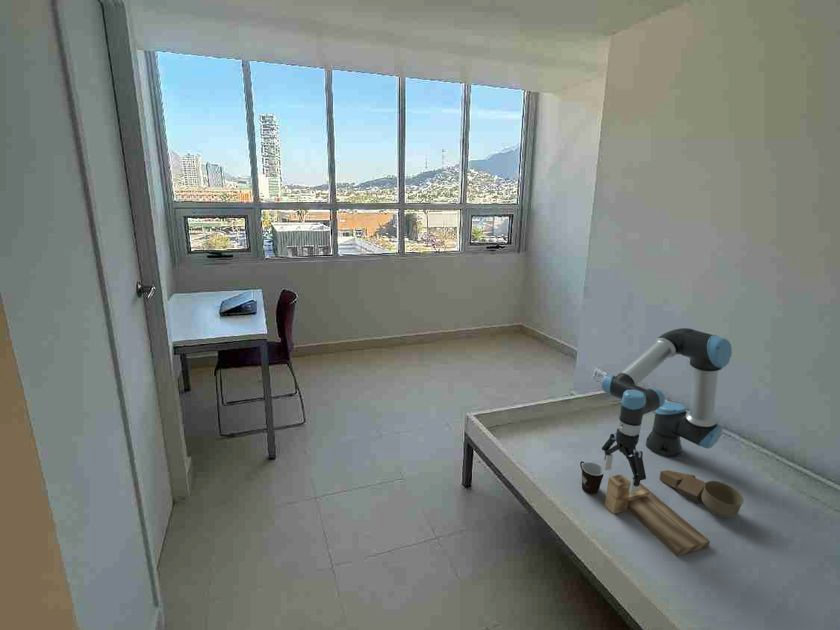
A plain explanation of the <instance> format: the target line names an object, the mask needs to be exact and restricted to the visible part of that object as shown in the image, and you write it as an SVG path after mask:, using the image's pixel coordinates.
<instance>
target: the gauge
mask: <svg viewBox="0 0 840 630" xmlns="http://www.w3.org/2000/svg"><path fill="white" fill-rule="evenodd" d="M630 485H631V480H629V479H628V478H627V477H626V476H625V475H623V474H622V473H621V474H616V475H612V476H609V477H608V482H607V488H606V494H605V501H604V506H605V508H607V509H608V510H609V511H610V512H611V513H612V514H620V513H623V512H626V511H628V510H627V505H628V501H629V500H633V499H637V498H641V497H645V496H649V492H648V491H647V490H646V489H644V490H640V491H637V492H633V493H630V492H629V490H630Z"/></svg>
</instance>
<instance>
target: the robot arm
mask: <svg viewBox="0 0 840 630" xmlns="http://www.w3.org/2000/svg"><path fill="white" fill-rule="evenodd" d="M732 349H733V348H732V344H731V342H730V341H729V339H727V338H724V337H722V336H720V335H716V334H710V333H707V332H705V331H704V332H703V331H700V330H696V329H692V328H688V327H687V328H686V327H683V328H680V327H679V328H675V329H672V330H669V331H667V332H664V333H663V334H661V335H660V336H658V337H657V338H656V339H654V341H653V344H652V345H651V346H649V348H647V350H646V351H644V352H643V353H642V354H641V355H639V356H638V357H637V358H636V359H634V360H633V362H631V363H630V364H628V366H627V367H625V368H624V369H623V370H621V371H620V372H619V373H618V374H617V375H616V376H615V375H612V374H607V375H606V376H604V377H603V379H602V381H601V390H602V391H603V392H605V394H608V395H610V396H612V397H615V398H617V399H620V401H621V402H620V403H621V404H620V409H619V416H618V423H617V428H616V432H615V433H610V436H609V438H608V440H606V442H605V443H604V445H602V447H601V450H602V451H604V466H603V469H604V471H610V470H612V464H613V458H614V453H615V452H617V451H619V452H620V453H622V454H623V455H624V456H625V458H626V460H627V461H628V464H629V466H630V469H631V472H632V474H633V476H631V479H630V482H631V485H630V490H629V492H630V493H633V492H637V487H638V486H639V485H640V483H641V481H643V480H644V481H645V480H646V479H647V476H646V470H645V466H644V465H645V464H644V460H643V456H644V454H643V451H642V450H640V451H639V450H638V449H637V445H638V443H639V439H640V433H641V428H642V421H643V417H644V415H646V414H649V413H651V412H654V411H655V413H654V418H653V419H654V420H653V425H652V429H651V431H650V432H649V434H648V436H647V437H646V440H645V445H646V447H647V448H648V449H649V450H650V451H651V452H652V453H655V454H657V455H660V456H662V457H666V458H676V457H679V456H681V455H682V451H683V447H682V442H681V441H682V440H681V438H682V439H684V440H686V441H689V442H691V443H692V444H695V445H696V446H698V447H702V448H704V449H711V448H712V447H714V445H716V444H717V442H718V441H719V439H720V437H721V435H722V433H723V427H722V425H720V424H718V418H717V417H716V415H715V402H716V396H717V395H716V394H717V387H718V386H717V384H718V377H719V371H721V370H722V369H723V368H725V367H726V366H727V365H729V363H730V360H731V358H732V352H733V350H732ZM677 355H681V356H684V357H686V358H689V365H690V366H691V368H693V370H692V371H693V372H692V373H693V374H692V381H691V383H692V384H691V397H690V409H689V411H687V407H686V406H685V405H684V404H682V403H679V402H675V401H674V402H673V401H666V398H665V395H664V394H663V392H662V391H661V390H660V389H658V388H644V387H642V386H639V384H640V383H641V382H642V381H643V380H645V379H646V378H647V377H648V376H649V375H650V374H651V373H652V372H653V371H654V370H656V369H657V368H658V367H659V366H660V365H661V364H663V363H664V362H665V361H666V360H668V358H669V359H671V358H674V357H675V356H677ZM615 442H616V444H615V445H614V443H615Z"/></svg>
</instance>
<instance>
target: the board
mask: <svg viewBox="0 0 840 630" xmlns="http://www.w3.org/2000/svg"><path fill="white" fill-rule="evenodd" d="M644 489H646V490H647V491H648V492H649V496H645V497H641V498H637V499H633V500H629V501H628V505H627V510H626V511H628V512H629V513H631V514H632V515H633V516H634V517H635V518H636V519H637V520H638V521H639V522H640V523H641V524H642V525H643V526H644V527H645V528H647V530H649V531H650V532H651V534H653V535H654V536H655V537H656V538H657V539H658V540H659V541H660V542H661V543H662V544H664V546H665V547H667V548H668V549H669V551H671V552H672V553H673V554H674V555H675V556H676V557H679V556H683V555H686V554H689V553H693V552H696V551H699V550H700V551H701V550H703V549H706V548H709V546H710V543H711V540H709V538H707V537H706V536H705V535H703V534H702V533H701V532H700V531H699V530H697V529H696V528H695V527H694V526H693V525H691V524H690V523H689V522H688V521H687V520H685V519H684V518H682V517H683V516H682V517H681V516H680V515H679V514H678V513H677V512H676V511H675V510H673V508H671V507H670V506H669V505H667V504H666V502H664V501H662V499H661V498H659V497H658V496H656V495H655V494H654V493H653V492H652V491H651V490H649V489H648V488H647V487H646V486H645V485H644V484H642V483H641V482H640V485H639V486H638V487H637V491H640V490H644Z"/></svg>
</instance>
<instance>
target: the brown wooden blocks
mask: <svg viewBox="0 0 840 630" xmlns="http://www.w3.org/2000/svg"><path fill="white" fill-rule="evenodd" d="M659 481H662V482H663V483H665V484H667V485H668V486H670V487H672V488H673V489H676V490H677V493H678V494H679V495H681V496H683V497H685V498H687V499H689V500H691V501H693V502H695V503H697V504H700V502H701V501H702V497H701V496H702V492H703V490H704V484H705V483H706V482H707V481H704V480H701V479H699V478H696V475H694V474H688V473H684V472H679V471H674V470H669V469H667V470H666V469H665V470H661V471H660V473H659Z"/></svg>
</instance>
